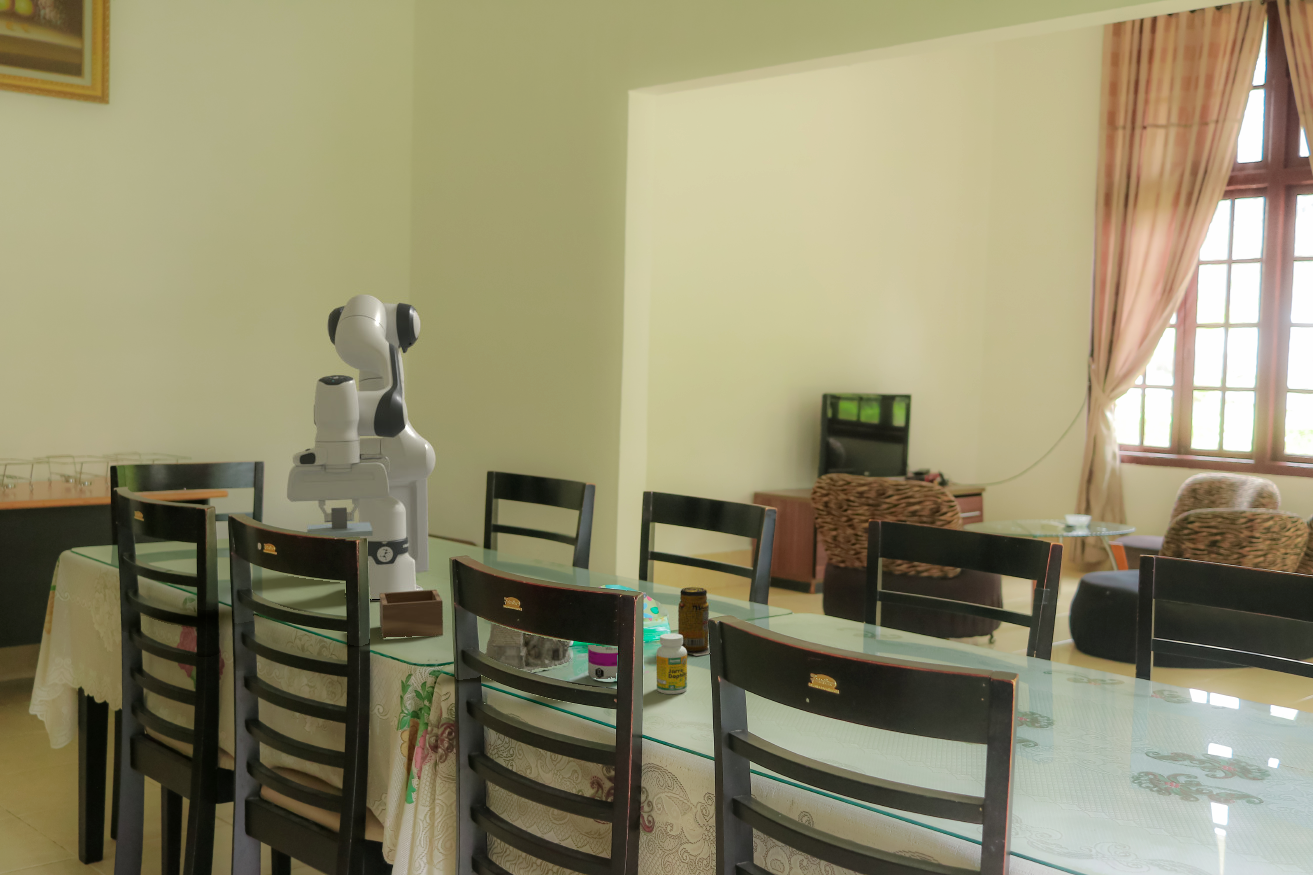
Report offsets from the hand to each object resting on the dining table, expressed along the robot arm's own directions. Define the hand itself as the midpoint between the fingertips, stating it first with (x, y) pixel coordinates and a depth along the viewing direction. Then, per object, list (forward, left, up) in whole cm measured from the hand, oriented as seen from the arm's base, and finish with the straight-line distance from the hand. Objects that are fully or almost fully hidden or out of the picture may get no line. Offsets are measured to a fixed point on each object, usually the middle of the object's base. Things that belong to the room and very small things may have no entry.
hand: (339, 521), depth 221 cm
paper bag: (-72, +13, -25) cm, 77 cm away
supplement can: (+44, +46, -25) cm, 68 cm away
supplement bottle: (+55, +54, -25) cm, 81 cm away
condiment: (+31, +67, -25) cm, 78 cm away
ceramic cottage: (+31, +33, -25) cm, 52 cm away
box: (+1, +14, -24) cm, 28 cm away
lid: (0, 0, -2) cm, 2 cm away
